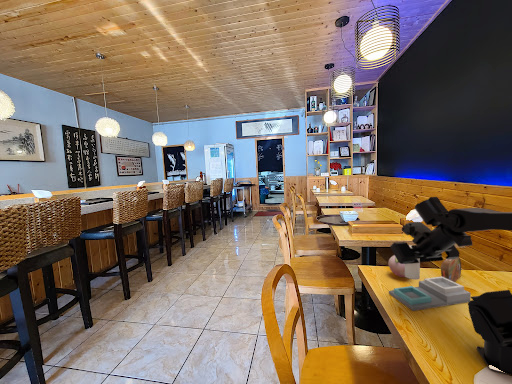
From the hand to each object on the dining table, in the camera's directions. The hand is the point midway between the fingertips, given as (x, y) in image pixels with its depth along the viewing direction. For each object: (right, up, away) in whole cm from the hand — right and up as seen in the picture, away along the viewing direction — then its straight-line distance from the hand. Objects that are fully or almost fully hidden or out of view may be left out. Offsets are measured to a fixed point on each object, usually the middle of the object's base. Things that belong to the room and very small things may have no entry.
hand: (408, 261), depth 73 cm
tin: (+24, -11, +11) cm, 29 cm away
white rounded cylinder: (0, -5, -1) cm, 5 cm away
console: (+7, -12, +1) cm, 14 cm away
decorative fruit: (+7, -11, +15) cm, 20 cm away
